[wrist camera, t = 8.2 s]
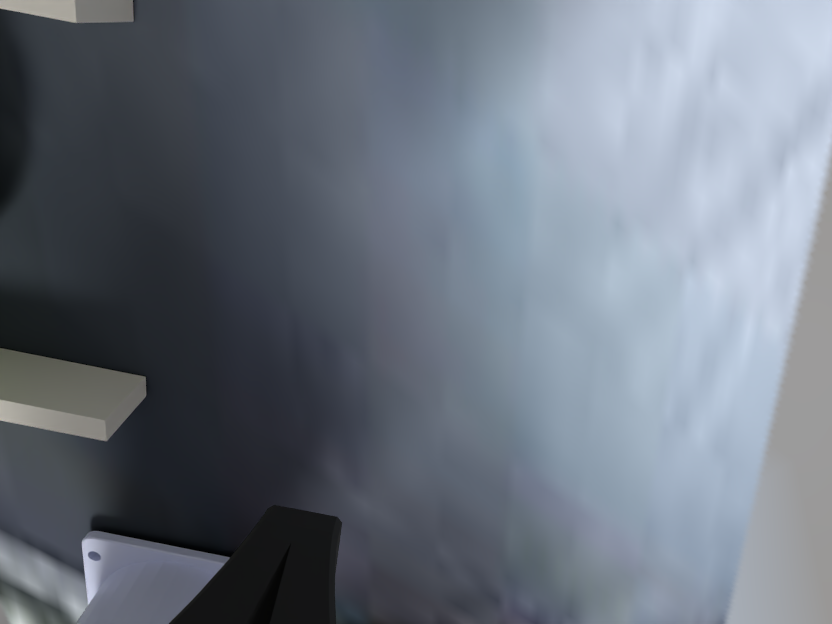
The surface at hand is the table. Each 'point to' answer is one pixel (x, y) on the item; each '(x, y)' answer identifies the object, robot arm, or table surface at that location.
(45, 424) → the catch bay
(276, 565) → the robot arm
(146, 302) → the table surface
